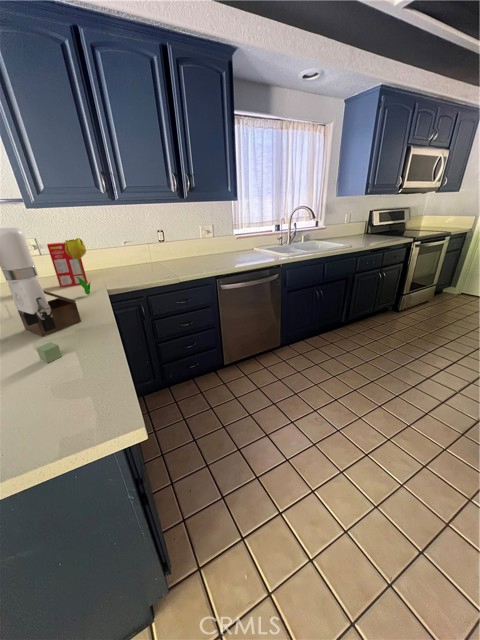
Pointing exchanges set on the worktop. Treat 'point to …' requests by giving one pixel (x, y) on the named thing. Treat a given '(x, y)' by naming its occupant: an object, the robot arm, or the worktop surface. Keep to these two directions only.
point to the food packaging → (66, 266)
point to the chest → (56, 317)
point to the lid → (58, 296)
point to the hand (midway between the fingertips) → (41, 326)
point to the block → (49, 352)
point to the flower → (77, 257)
